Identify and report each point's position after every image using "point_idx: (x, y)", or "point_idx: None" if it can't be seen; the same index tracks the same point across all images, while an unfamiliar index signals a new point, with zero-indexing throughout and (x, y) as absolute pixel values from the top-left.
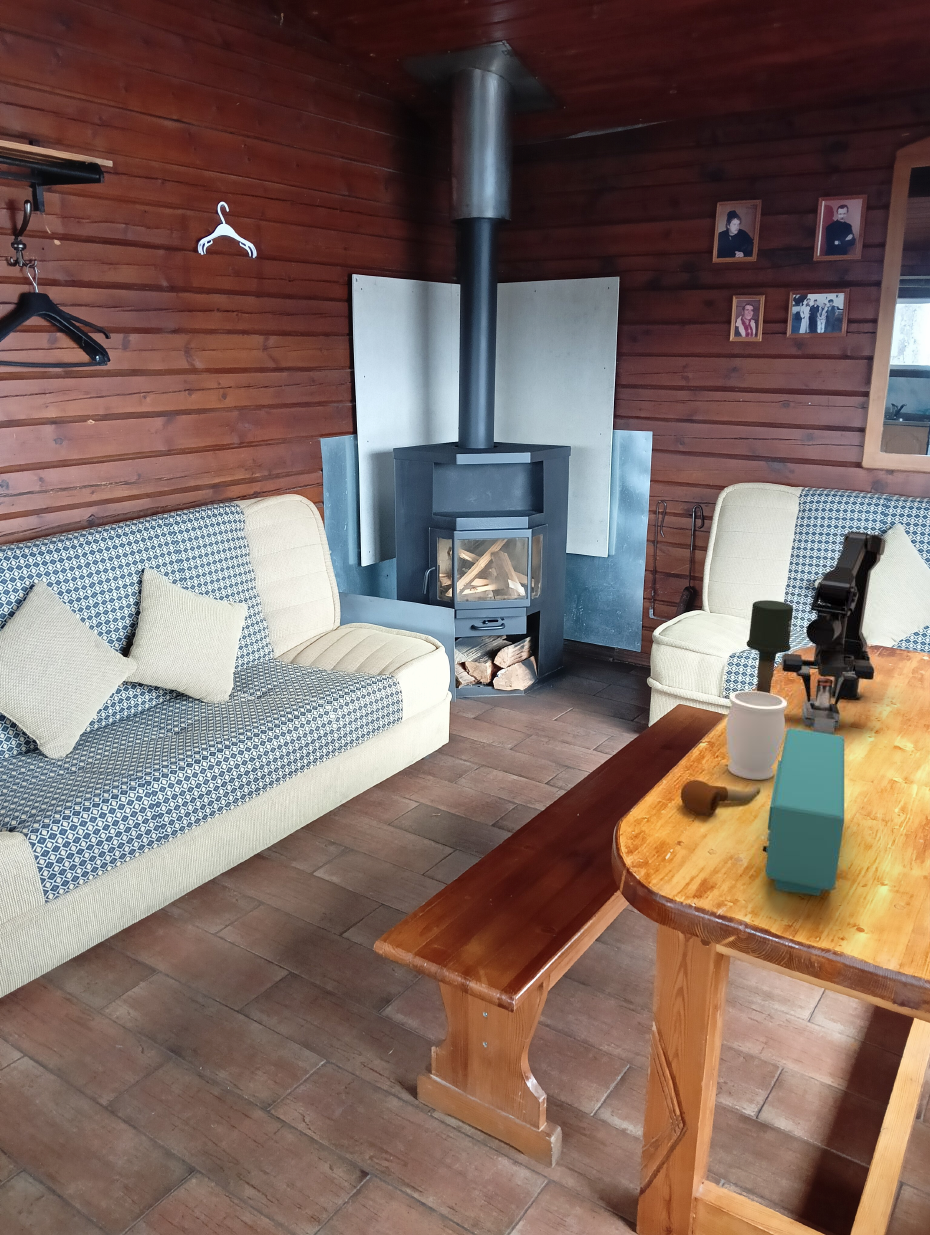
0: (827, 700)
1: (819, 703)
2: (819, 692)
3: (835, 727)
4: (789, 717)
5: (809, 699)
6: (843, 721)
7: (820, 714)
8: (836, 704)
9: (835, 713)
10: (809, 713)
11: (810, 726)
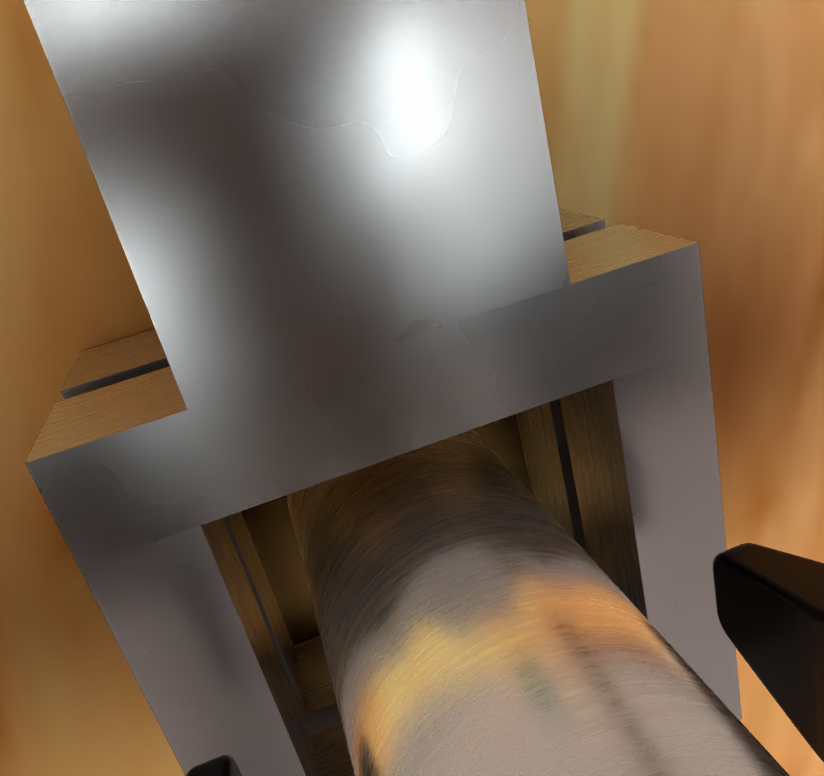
0: (414, 691)
1: (543, 558)
2: (743, 763)
3: (119, 347)
4: (733, 426)
5: (768, 570)
6: (117, 725)
7: (417, 164)
8: (198, 768)
9: (135, 449)
10: (610, 253)
11: None
